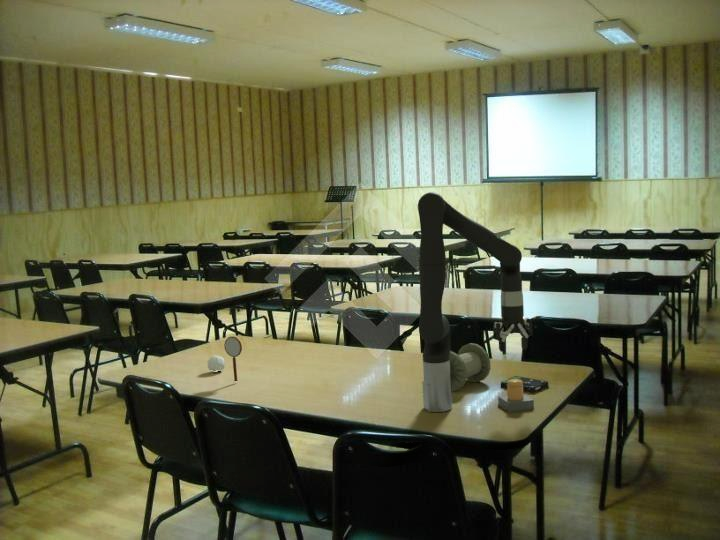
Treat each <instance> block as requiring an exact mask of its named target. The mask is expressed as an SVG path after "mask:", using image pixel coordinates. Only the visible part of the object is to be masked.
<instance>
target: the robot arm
mask: <svg viewBox="0 0 720 540" xmlns="http://www.w3.org/2000/svg"><path fill="white" fill-rule="evenodd" d="M417 212H418V217H419V224H420V226H419V227H420V243H419V253H418V254H419V255H418V275H419V295H420V310H419V323H418V333H419V335H420V337H421V339H422V340H423V342H424V349H423V353H422V366H423V381H422V383H421V384H422V399H423V401H422V402H423V409H425V411H427V412H428V413H442V412H447V411H450V410H452V408H453V404H452V403H453V401H452V391H451V378H450V358H449V355H450V351H451V347H452V346H451V326H450V322H449V319H448V318H447V317H446V316H445V315H444V314H443V311H442V310H443V309H442V305H443V304H442V303H443V296H444V291H445V287H446V283H447V282H446V280H447V256H446V255H447V254H446V247H445V242H444V235H443V234H444V233H443V229H444V226H446V227H448V228H450V229H452V231H454V232H456V233H457V234H458V235H459V236H461V237H462V238H463V239H464V240H466V241H467V242H469V243H470V244H472V245H474V247H477V248H478V249H480V250H482V251H483V252H485V253H486V254H489V255H490V256H492V257H493V258H494V259H496V260H497V261H499V266H500V314H501V315H500V316H501V322H497V321H494V322H493V325H492V327H493V328H492V331H493V332H492V334H493V335H492V338H493V339H494V340H496V341H498V349H499V352H501V353H506V339H507V337H508V336H509V335H513V334H519V335H520V336H521V339H520V342H521V343H520V345H521V349H523V350H527V348H528V345H529V340H528V338H529V337H530V336H531V337H532V336H534V332H533V331H534V329H533V321H532V318H529V317H525V318H524V316H525V311H524V294H523V279H522V275H521V261H522V259H523V255H522V251H521V250H520V248H518V247H517V246H516V245H514V244H512V243H510V242H508V241H506V240H504V239H502V238H501V237H500V236H499V235H498V234H496V233H495V232H494V231H493V230H491V229H489V228H488V227H486V226H484V225H482V224H481V223H479V222H477V221H475V220H473V219H471V218H469V217H468V216H466V215H465V214H463V213H461V212H460V211H458V210H457V209H456V208H454V207H453V206H452V205H451V204H449V202H447V201H446V200H445V199H444V198H443V196H442V195H440V194H439V193H436V192H434V191H432V192H431V191H430V192H426V193H424V194H423V195H422V196H421V197H420V198H419V200H418V201H417ZM523 326H524V327H525V328H524V327H523Z"/></svg>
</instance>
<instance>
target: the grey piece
mask: <svg viewBox="0 0 720 540" xmlns="http://www.w3.org/2000/svg"><path fill="white" fill-rule="evenodd" d="M523 396H524V398H523V399H522V400H510V399H508V394H506V395H498V396H497V402H498V405H499V407H501V408H503V409H504V410H506V411H507V412H509V413H510V412H511V413H512V412H518V411H519V412H520V411H526V410H533V409H535V405H534V403H535V402H534V399H533V398H530V397H529V396H528V395H526V394H524V393H523Z"/></svg>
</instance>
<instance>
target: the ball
mask: <svg viewBox="0 0 720 540" xmlns="http://www.w3.org/2000/svg"><path fill="white" fill-rule="evenodd" d="M225 363H226V361H225V359H224V357H222V356H221V355H212V356H210V357H209V359H208V360H207V368H208V370H209V371H210V370H213V371H216V370H222V369H223V370H224V368H226V364H225ZM223 370H222V371H223Z"/></svg>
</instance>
